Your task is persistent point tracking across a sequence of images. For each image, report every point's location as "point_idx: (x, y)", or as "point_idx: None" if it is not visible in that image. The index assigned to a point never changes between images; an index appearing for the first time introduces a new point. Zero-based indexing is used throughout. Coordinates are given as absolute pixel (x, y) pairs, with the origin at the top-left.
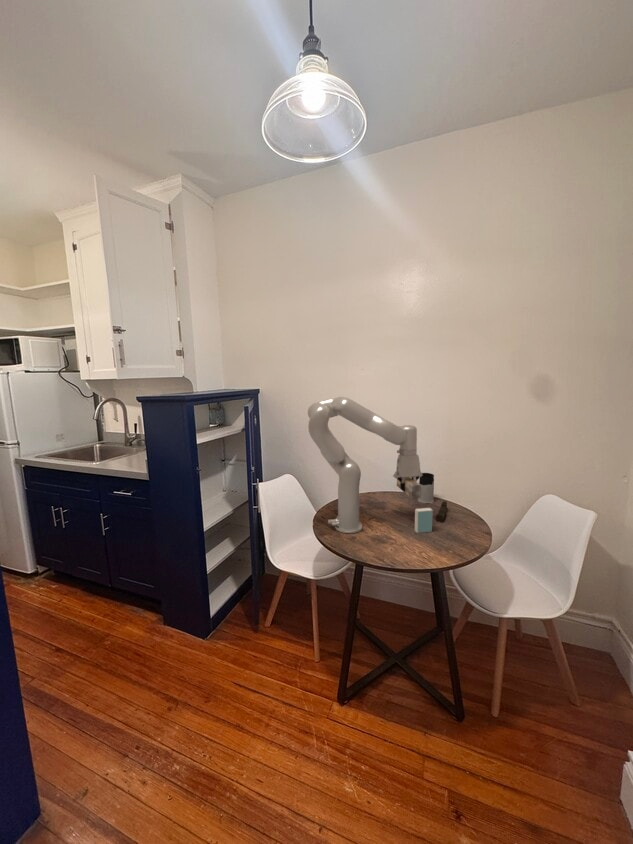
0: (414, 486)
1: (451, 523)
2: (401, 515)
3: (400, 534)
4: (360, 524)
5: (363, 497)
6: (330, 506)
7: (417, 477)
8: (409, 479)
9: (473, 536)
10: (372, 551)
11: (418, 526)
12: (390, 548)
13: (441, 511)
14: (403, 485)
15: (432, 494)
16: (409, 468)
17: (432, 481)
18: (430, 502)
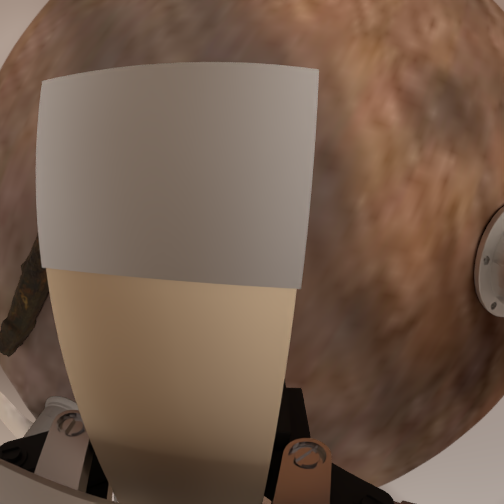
0: (222, 71)
1: (34, 196)
2: None
3: (345, 122)
4: (487, 255)
5: None
6: (464, 433)
7: (16, 458)
8: (157, 485)
9: (25, 69)
10: (494, 47)
11: None
12: (433, 31)
13: (32, 268)
14: (285, 414)
15: (36, 421)
16: None
17: None
18: (58, 400)
